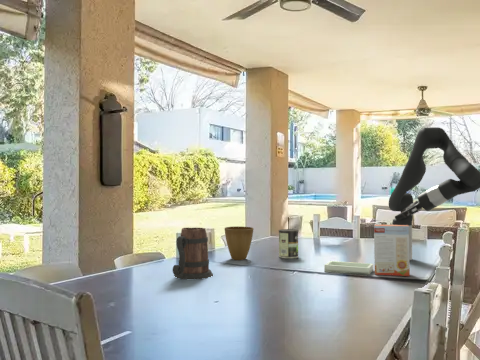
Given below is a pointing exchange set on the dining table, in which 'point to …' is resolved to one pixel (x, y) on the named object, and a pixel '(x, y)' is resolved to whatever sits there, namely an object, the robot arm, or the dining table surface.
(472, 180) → the robot arm
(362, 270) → the tray
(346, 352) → the dining table surface
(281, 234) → the coffee can
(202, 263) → the tankard
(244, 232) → the plant pot
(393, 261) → the cracker box
